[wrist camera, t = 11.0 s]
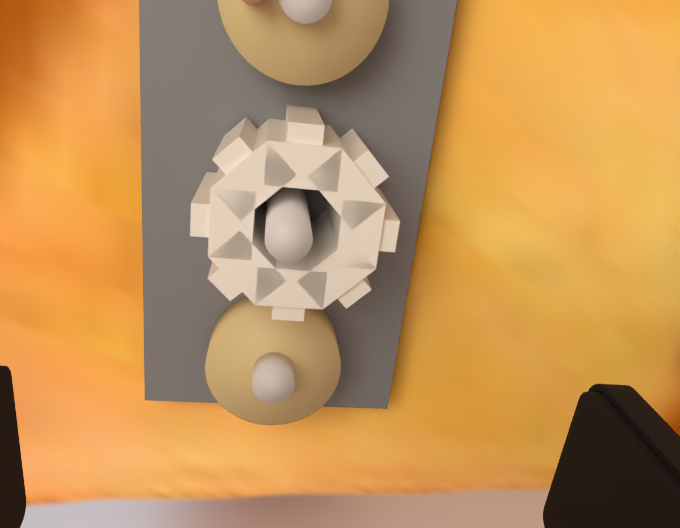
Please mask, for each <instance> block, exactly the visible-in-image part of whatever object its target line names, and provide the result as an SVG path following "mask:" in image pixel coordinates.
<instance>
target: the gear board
mask: <svg viewBox="0 0 680 528" xmlns="http://www.w3.org/2000/svg"><path fill="white" fill-rule="evenodd" d="M456 5H457V0H139V25H140V94H141V163H142V232H143V301H144V369H145V400H154V401H182V402H211V403H219V404H220V405H221V406H222V407H223V408H224V409H226V410H227V411H228V412H230V413H231V414H233V415H235V416H236V417H238V418H240V419H243V420H245V421H248V422H252V423H256V424H262V425H281V424H288V423H292V422H295V421H298V420H301V419H303V418H305V417H307V416H309V415H311V414H313V413H314V412H316V411H317V410H318V409H320V408H321V407H322V406H325V407H354V408H382V409H387V408H388V402H389V396H390V390H391V384H392V379H393V373H394V367H395V361H396V355H397V349H398V344H399V338H400V332H401V326H402V320H403V314H404V309H405V303H406V297H407V291H408V285H409V279H410V274H411V268H412V262H413V256H414V250H415V244H416V239H417V233H418V227H419V221H420V215H421V209H422V204H423V198H424V192H425V186H426V180H427V174H428V168H429V163H430V157H431V151H432V145H433V139H434V133H435V128H436V122H437V116H438V110H439V104H440V98H441V93H442V87H443V81H444V75H445V69H446V63H447V58H448V52H449V46H450V40H451V34H452V28H453V23H454V17H455V11H456ZM287 105H296V106H305V107H314V108H317V110H318V112H319V114H320V116H321V119H322V121H323V123H324V124H325V125H330V126H331V127H332V128H333V130H334V131H335V132H336V133H337V135H338V136H339V137H340V138H341V137H342V136H343V135H344V134H346V133H347V132H348V131H349V130H351V129H352V128H353V130H354V131H355V132H356V133H357V135H358V136H359V137H360V139H361V140H362V141H363V143H364V144H365V145H366V146H367V148H368V149H369V150H370V152H371V153H372V154H373V156H374V157H375V158H376V160H377V161H378V162H379V164H380V165H381V167H382V168H383V169H384V171H385V172H386V173H387V175H388V176H389V177H388V178H387V179H386V180H384V181H383V182H382V183H380V184H379V185H378V186H377V187H376V188H380V190H381V191H382V193H383V195H384V196H385V198H386V199H387V201H388V203H389V204H390V206H391V207H392V209H393V211H394V212H395V214H396V215H397V217H398V218H399V220H400V225H399V231H398V237H397V243H396V249H395V252H384V251H379V252H378V259H377V265H376V270H374V271H373V272H372V273H370V274H369V275H368V276H367V278H368V281H369V284H370V287H371V291H369V292H368V293H367V294H365V295H364V296H363V297H361V298H360V299H359V300H357V301H356V302H355V303H353V304H352V305H351V306H349V307H348V308H347V309H346V308H345V307H344V306H343V304H342V303H341V302H340V301H339V300H338V299H336V300H335V301H333V302H332V303H331V304H329V305H328V306H327V307H325V308H324V309H323V310H322V309H307V308H305V312H304V321H288V320H272V306H261V305H254V303H253V302H252V301H251V300H250V299H249V298H248V297H247V296H246V295H245V294H244V293H243V292H241V293H240V294H239V295H238V296H236V297H235V298H234V299H232V300H231V301H229V300H228V299H227V298H226V297H225V296H224V295H223V294H222V293H221V292H220V291H219V290H218V289H217V288H216V287H215V286H214V285H213V284H212V283H211V282H210V281H209V280H208V279H207V278H208V275H209V271H210V268H211V264H212V261H211V260H210V259H209V258H208V239H209V238H207V237H194V236H190V219H191V202H192V200H193V198H194V196H195V194H196V192H197V190H198V188H199V186H200V184H201V182H202V180H203V178H204V176H205V174H206V172H214V173H217V171H218V169H219V167H218V166H217V164H216V163H215V162H214V161H213V160H212V159H213V157H214V155H215V153H216V151H217V149H218V147H219V145H220V143H221V141H222V139H223V137H224V135H226V134H227V133H228V132H229V131H230V130H231V129H233V128H234V127H235V126H236V125H237V124H238V123H240V122H241V121H242V120H243V119H244V118H246V117H247V118H248V119H249V120H250V121H251V122H252V124H253V125H254V126H255V127H256V128H257V129H258V128H259V127H260V126H261V125H262V124H264V123H265V122H266V121H267V120H268V119H269V118H270V119H279V120H285V119H286V108H287ZM260 207H261V208H262V209H263V211H264V212H265V213H266V225H265V246H266V248H267V250H268V252H269V253H270V254H271V255H272V256H273V257H274V258H276V259H277V260H280V261H283V262H294V261H298V260H300V259H302V258H303V257H305V256H306V255H307V254H308V252H309V251H310V249H311V247H312V243H313V235H312V229H311V223H310V222H311V221H313V220H314V219H315V218H316V217H318V216H319V215H320V214H321V213H323V212H324V211H325V210H326V209H327V199H326V198H325V197H324V196H323V195H322V193H321V192H320V191H319V190H310V189H299V188H289V187H282V188H280V189H279V190H278V191H277V192H276V193H274V194H273V195H272V196H271V197H269V198H268V199H267V200H266V201H264V202H263V203H262V204H261V205H260Z"/></svg>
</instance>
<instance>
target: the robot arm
mask: <svg viewBox="0 0 680 528" xmlns="http://www.w3.org/2000/svg"><path fill="white" fill-rule="evenodd" d="M25 509H26V494H25V486H24V478H23V469H22V461H21V452H20V444H19V435H18V427H17V418H16V410H15V402H14V393H13V385H12V376H11V371H10V369H9V367H7V366H0V528H20V526H21V524H22V521H23V518H24V514H25ZM543 521H544V526H545V528H680V436H679V435H678V434H677V433H676V432H675V431H674V430H673V429H672V428H671V427H670V426H669V425H668V424H667V423H666V422H665V421H664V420H663V419H662V418H661V416H660V415H659V414H658V413H657V412H656V411H655V410H654V409H653V408H652V407H651V406H650V405H649V404H648V403H647V402H646V401H645V400H644V399H643V398H642V397H641V396H640V395H639V394H638V393H637V392H636V390H635V389H633V388H632V387H630V386H627V385H610V384H595V385H593V386H592V387H591V388H590V389H589V391H588V392H584V393H583V394H582V395H581V396H580V398H579V401H578V404H577V407H576V410H575V413H574V416H573V419H572V422H571V425H570V429H569V432H568V435H567V438H566V441H565V444H564V447H563V450H562V453H561V457H560V460H559V463H558V466H557V469H556V472H555V475H554V478H553V481H552V484H551V488H550V491H549V494H548V497H547V500H546V503H545V506H544V511H543Z"/></svg>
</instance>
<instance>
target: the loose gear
mask: <svg viewBox="0 0 680 528" xmlns="http://www.w3.org/2000/svg"><path fill="white" fill-rule="evenodd" d="M212 160H213V161H214V162H215V163H216V164H217V166H218V167H219V169H218V171H217V173H214V172H206V174H205V176H204V178H203V180H202V182H201V184H200V186H199V188H198V190H197V192H196V194H195V196H194V198H193V200H192V202H191V219H190V236H194V237H207V238H209V239H208V258H209V259H210V260H211V261H212V264H211V268H210V271H209V275H208V278H207V279H208V280H209V281H210V282H211V283H212V284H213V285H214V286H215V287H216V288H217V289H218V290H219V291H220V292H221V293H222V294H223V295H224V296H225V297H226V298H227V299H228V300H229V301H231V300H232V299H234V298H235V297H236V296H238V295H239V294H240V293H241V292H243V293H244V294H245V295H246V296H247V297H248V298H249V299H250V300H251V301H252V302H253V303H254V305H261V306H272V320H288V321H304V312H305V308H307V309H322V310H323V309H324V308H325V307H327V306H328V305H329V304H331V303H332V302H333V301H335V300H336V299H338V300H339V301H340V302H341V303H342V304H343V306H344V307H345V308H346V309H347V308H348V307H349V306H351V305H352V304H353V303H355V302H356V301H357V300H359V299H360V298H361V297H363V296H364V295H365V294H367V293H368V292H369V291H371V287H370V284H369V281H368V278H367V276H368V275H369V274H370V273H372V272H373V271H374V270H376V265H377V259H378V252H379V251H384V252H395V249H396V243H397V237H398V231H399V225H400V220H399V218H398V217H397V215H396V214H395V212H394V211H393V209H392V207H391V206H390V204H389V203H388V201H387V199H386V198H385V196H384V195H383V193H382V191H381V190H380V188H376V187H377V186H378V185H379V184H380V183H382V182H383V181H384V180H386V179H387V178H388V177H389V176H388V175H387V173H386V172H385V171H384V169H383V168H382V167H381V165H380V164H379V162H378V161H377V160H376V158H375V157H374V156H373V154H372V153H371V152H370V150H369V149H368V148H367V146H366V145H365V144H364V143H363V141H362V140H361V139H360V137H359V136H358V135H357V133H356V132H355V131H354V130H353V128H352V129H351V130H349V131H348V132H347V133H346V134H344V135H343V136H342V137H341V138H340V137H339V136H338V135H337V133H336V132H335V131H334V130H333V128H332V127H331V126H330V125H325V124H324V123H323V121H322V119H321V116H320V114H319V112H318V110H317V108H314V107H305V106H296V105H287V108H286V119H285V120H279V119H270V118H269V119H268V120H267V121H266V122H265V123H264V124H262V125H261V126H260V127H259V128H258V129H257V128H256V127H255V126H254V125H253V124H252V122H251V121H250V120H249V119H248V118H247V117H246V118H244V119H243V120H242V121H241V122H240V123H238V124H237V125H236V126H235V127H234V128H233V129H231V130H230V131H229V132H228V133H227V134H226V135H224V137H223V139H222V141H221V143H220V145H219V147H218V149H217V151H216V153H215V155H214V157H213V159H212ZM282 187H289V188H299V189H310V190H319V191H320V192H321V193H322V195H323V196H324V197H325V198H326V199H327V209H326V210H325V211H324V212H323V213H321V214H320V215H319V216H318V217H316V218H315V219H314V220H313V221H311V222H310V223H311V229H312V235H313V243H312V247H311V249H310V251H309V252H308V254H307V255H306V256H305V257H303V258H302V259H300V260H298V261H294V262H283V261H280V260H277V259H276V258H274V257H273V256H272V255H271V254H270V253H269V252H268V250H267V248H266V246H265V225H266V213H265V212H264V211H263V209H262V208H261V207H260V205H261V204H262V203H263V202H264V201H266V200H267V199H268V198H269V197H271V196H272V195H273V194H274V193H276V192H277V191H278V190H279V189H280V188H282Z"/></svg>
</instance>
